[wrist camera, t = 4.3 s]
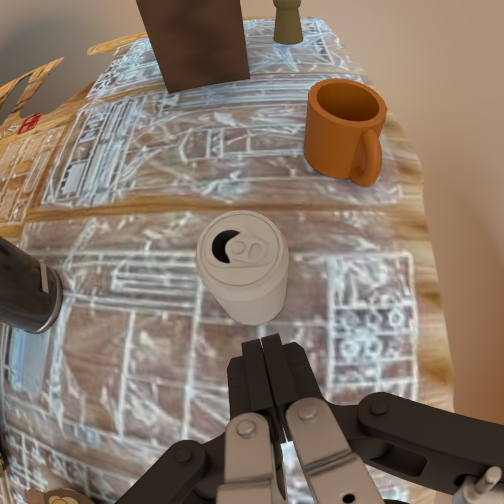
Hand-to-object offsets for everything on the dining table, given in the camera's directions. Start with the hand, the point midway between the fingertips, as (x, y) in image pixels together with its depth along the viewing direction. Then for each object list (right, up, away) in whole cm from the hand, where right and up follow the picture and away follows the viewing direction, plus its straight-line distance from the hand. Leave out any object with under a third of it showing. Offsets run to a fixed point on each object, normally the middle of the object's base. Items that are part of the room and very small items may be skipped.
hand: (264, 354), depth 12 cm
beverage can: (0, 0, +19) cm, 19 cm away
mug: (+11, +15, +25) cm, 31 cm away
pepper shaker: (+7, +48, +39) cm, 62 cm away
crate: (-8, +37, +36) cm, 52 cm away
